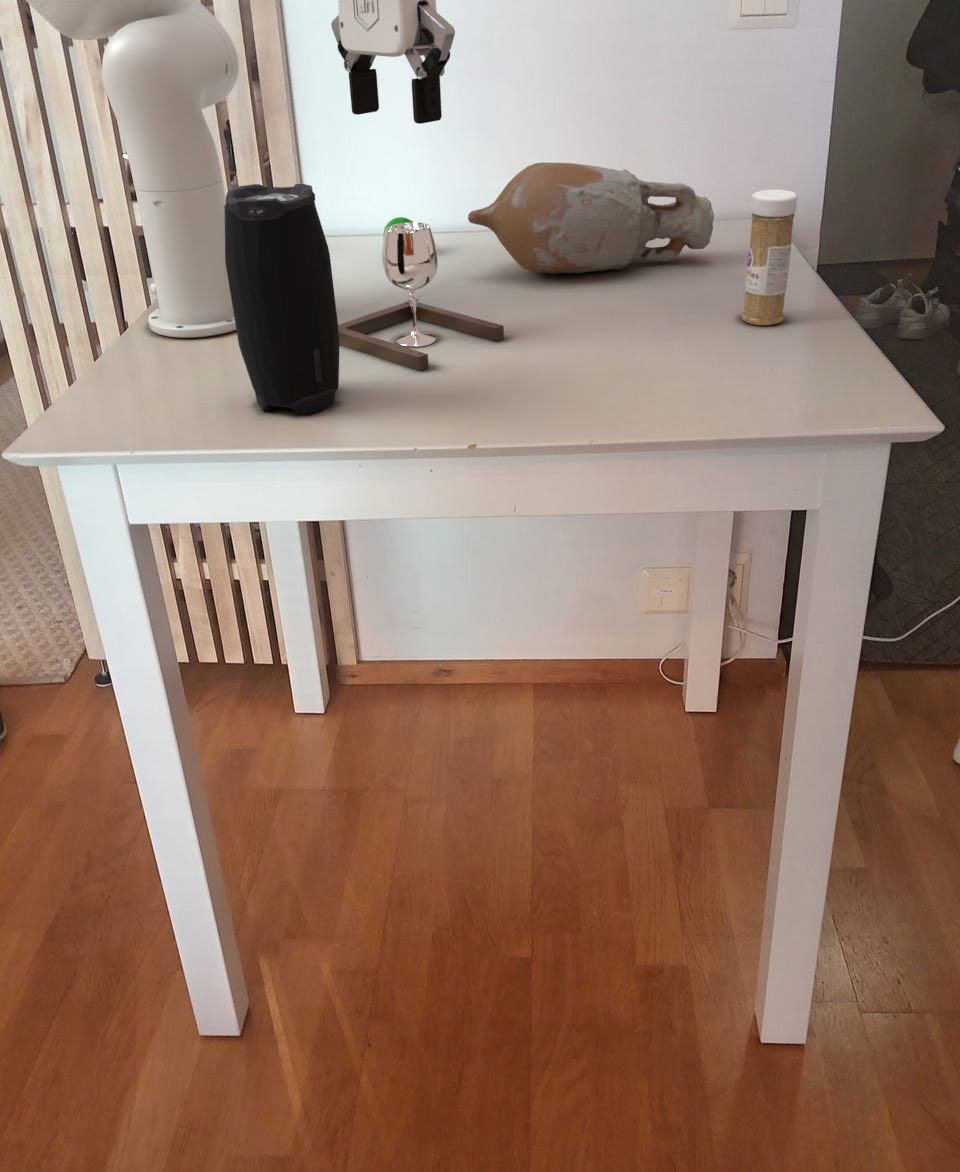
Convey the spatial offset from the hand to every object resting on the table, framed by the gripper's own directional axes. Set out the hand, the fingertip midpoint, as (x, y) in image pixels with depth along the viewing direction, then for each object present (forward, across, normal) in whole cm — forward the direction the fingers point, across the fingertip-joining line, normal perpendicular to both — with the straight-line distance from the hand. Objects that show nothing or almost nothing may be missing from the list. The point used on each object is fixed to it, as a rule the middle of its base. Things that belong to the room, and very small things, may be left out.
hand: (396, 117), depth 109 cm
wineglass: (+22, +3, -2) cm, 23 cm away
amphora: (+22, +1, +30) cm, 37 cm away
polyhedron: (+22, -25, +20) cm, 39 cm away
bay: (+22, +3, -2) cm, 22 cm away
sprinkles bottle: (+22, +29, +26) cm, 45 cm away
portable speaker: (+22, +8, -21) cm, 32 cm away
